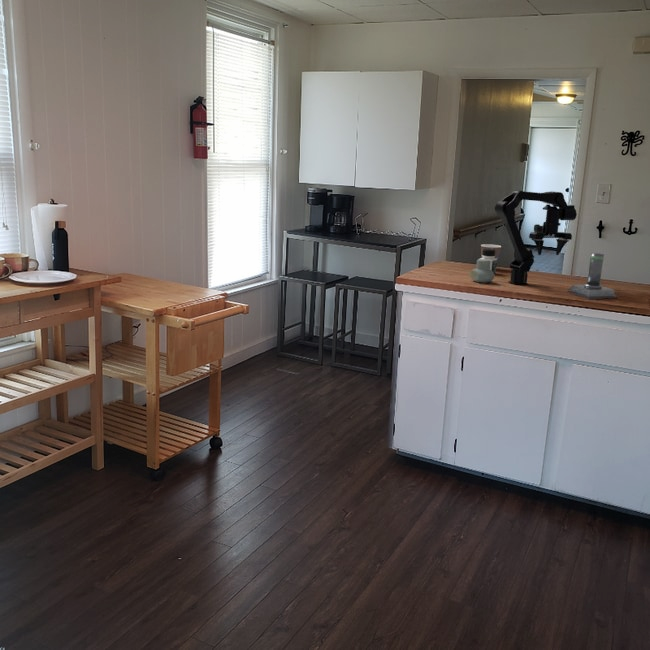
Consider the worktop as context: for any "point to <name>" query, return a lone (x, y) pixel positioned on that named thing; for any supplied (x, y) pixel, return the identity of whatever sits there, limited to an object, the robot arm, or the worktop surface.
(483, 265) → the air freshener
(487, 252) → the medicine bottle
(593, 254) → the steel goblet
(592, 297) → the metal stand
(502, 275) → the worktop surface
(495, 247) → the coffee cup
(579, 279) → the worktop surface
